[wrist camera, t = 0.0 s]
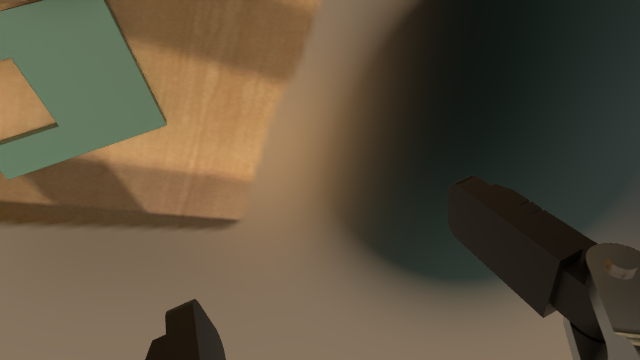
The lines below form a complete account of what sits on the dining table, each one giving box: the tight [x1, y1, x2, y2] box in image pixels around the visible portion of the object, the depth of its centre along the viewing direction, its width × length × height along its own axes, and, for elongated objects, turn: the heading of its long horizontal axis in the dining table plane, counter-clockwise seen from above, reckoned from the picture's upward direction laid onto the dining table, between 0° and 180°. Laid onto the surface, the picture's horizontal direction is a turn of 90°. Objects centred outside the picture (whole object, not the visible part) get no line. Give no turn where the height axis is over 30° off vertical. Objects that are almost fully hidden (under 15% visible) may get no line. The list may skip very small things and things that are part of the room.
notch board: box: [0, 0, 167, 180], centre depth 30 cm, size 12×14×1 cm
